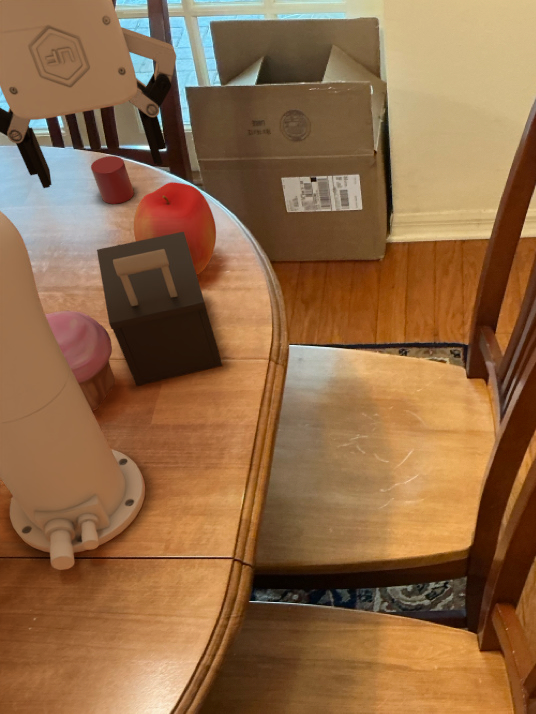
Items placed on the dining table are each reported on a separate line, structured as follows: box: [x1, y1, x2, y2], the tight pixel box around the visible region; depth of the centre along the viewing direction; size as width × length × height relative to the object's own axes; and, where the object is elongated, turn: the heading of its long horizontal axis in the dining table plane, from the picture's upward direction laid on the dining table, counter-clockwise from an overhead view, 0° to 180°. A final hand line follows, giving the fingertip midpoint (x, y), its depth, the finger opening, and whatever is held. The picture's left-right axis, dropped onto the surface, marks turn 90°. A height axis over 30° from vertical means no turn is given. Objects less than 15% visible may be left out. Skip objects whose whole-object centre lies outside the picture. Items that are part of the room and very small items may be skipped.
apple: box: [133, 181, 217, 276], centre depth 93 cm, size 10×10×10 cm
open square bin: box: [112, 307, 223, 387], centre depth 85 cm, size 13×10×8 cm
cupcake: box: [45, 310, 116, 412], centre depth 80 cm, size 9×9×10 cm
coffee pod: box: [90, 155, 135, 205], centre depth 106 cm, size 4×4×4 cm
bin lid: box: [96, 232, 207, 330], centre depth 79 cm, size 13×10×6 cm
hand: (102, 168), depth 68 cm, fingers open, 9 cm apart
